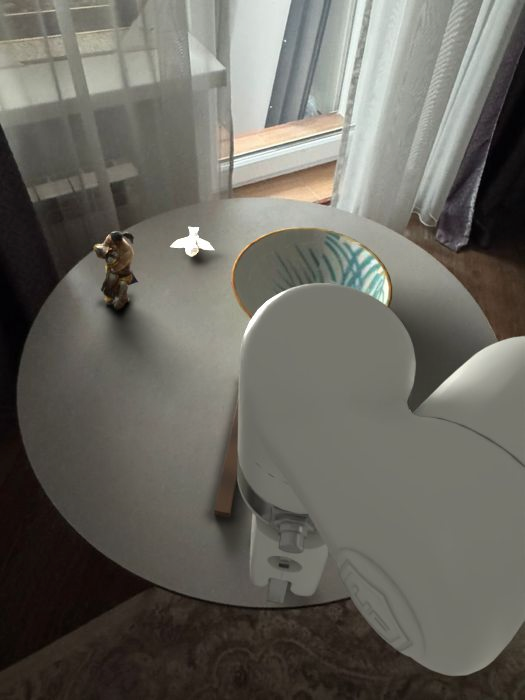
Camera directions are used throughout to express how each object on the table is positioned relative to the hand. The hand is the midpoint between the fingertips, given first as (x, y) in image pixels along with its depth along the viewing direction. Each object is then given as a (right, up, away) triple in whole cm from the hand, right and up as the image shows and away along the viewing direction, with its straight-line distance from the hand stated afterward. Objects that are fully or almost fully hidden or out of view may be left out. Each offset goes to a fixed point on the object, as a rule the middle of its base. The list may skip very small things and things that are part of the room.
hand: (278, 551), depth 45 cm
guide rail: (-5, +5, +25) cm, 26 cm away
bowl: (+6, +24, +40) cm, 47 cm away
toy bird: (-14, +36, +48) cm, 62 cm away
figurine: (-24, +25, +40) cm, 53 cm away
